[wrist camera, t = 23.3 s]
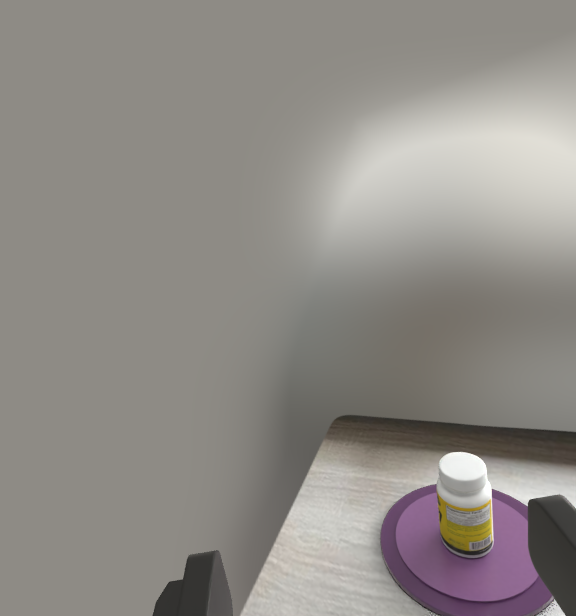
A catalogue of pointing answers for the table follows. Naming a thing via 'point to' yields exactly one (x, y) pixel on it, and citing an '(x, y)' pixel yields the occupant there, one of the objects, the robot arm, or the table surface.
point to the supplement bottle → (465, 505)
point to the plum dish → (462, 560)
